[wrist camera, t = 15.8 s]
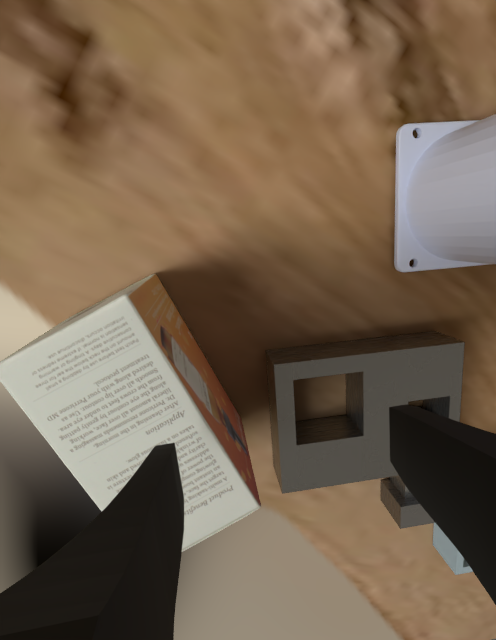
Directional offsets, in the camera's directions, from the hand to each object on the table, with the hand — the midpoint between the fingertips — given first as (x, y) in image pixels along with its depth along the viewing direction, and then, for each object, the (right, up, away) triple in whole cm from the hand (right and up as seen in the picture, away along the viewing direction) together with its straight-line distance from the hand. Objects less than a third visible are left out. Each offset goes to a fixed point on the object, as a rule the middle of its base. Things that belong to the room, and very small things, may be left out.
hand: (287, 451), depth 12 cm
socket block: (+6, -1, +12) cm, 13 cm away
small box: (-8, +5, +4) cm, 11 cm away
